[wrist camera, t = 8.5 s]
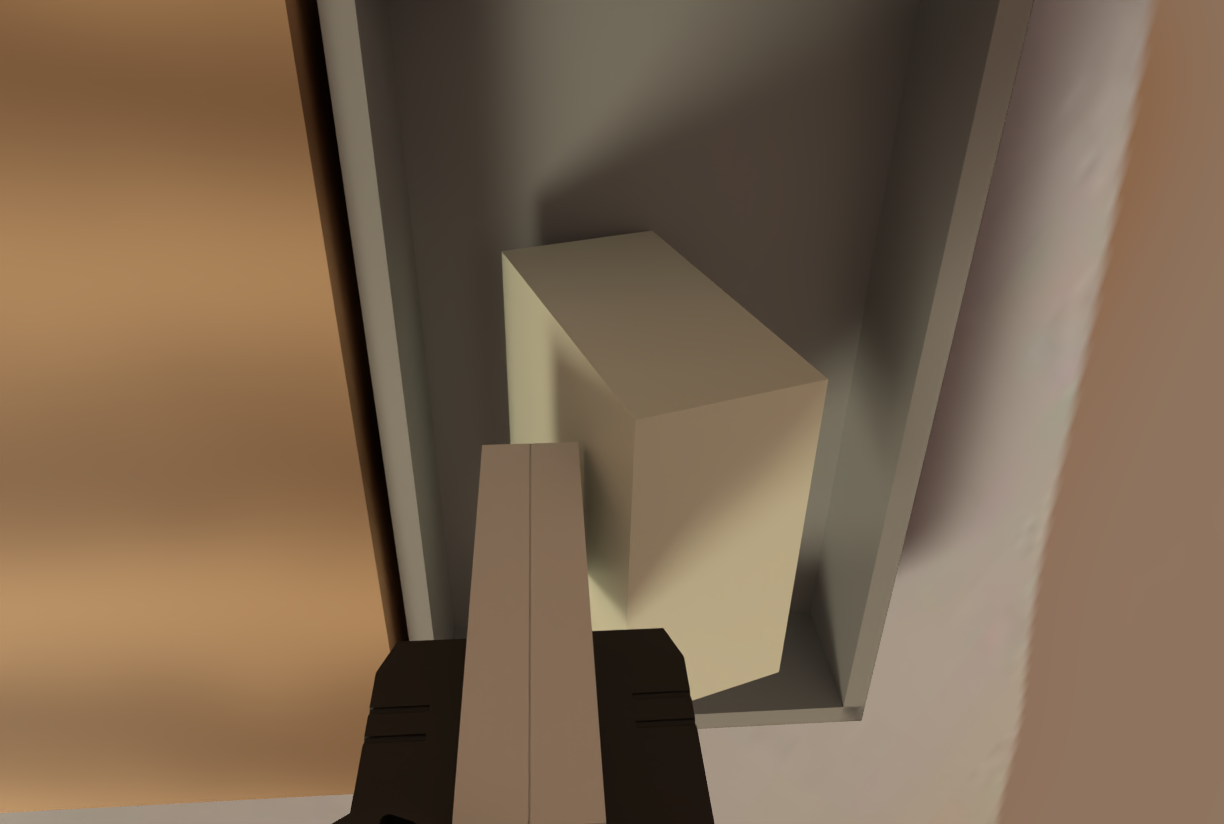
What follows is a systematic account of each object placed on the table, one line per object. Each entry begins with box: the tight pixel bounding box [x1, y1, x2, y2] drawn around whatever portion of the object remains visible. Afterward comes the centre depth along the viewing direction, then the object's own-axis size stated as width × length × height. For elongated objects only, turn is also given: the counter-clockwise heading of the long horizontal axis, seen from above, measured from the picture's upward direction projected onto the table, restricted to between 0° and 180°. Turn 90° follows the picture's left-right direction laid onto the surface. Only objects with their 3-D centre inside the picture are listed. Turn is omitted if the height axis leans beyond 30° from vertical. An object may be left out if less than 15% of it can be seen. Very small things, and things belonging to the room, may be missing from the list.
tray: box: [317, 0, 1034, 729], centre depth 18 cm, size 16×10×4 cm, turn 179°
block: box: [502, 231, 828, 700], centre depth 17 cm, size 6×6×3 cm
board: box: [0, 0, 409, 813], centre depth 17 cm, size 18×13×4 cm
